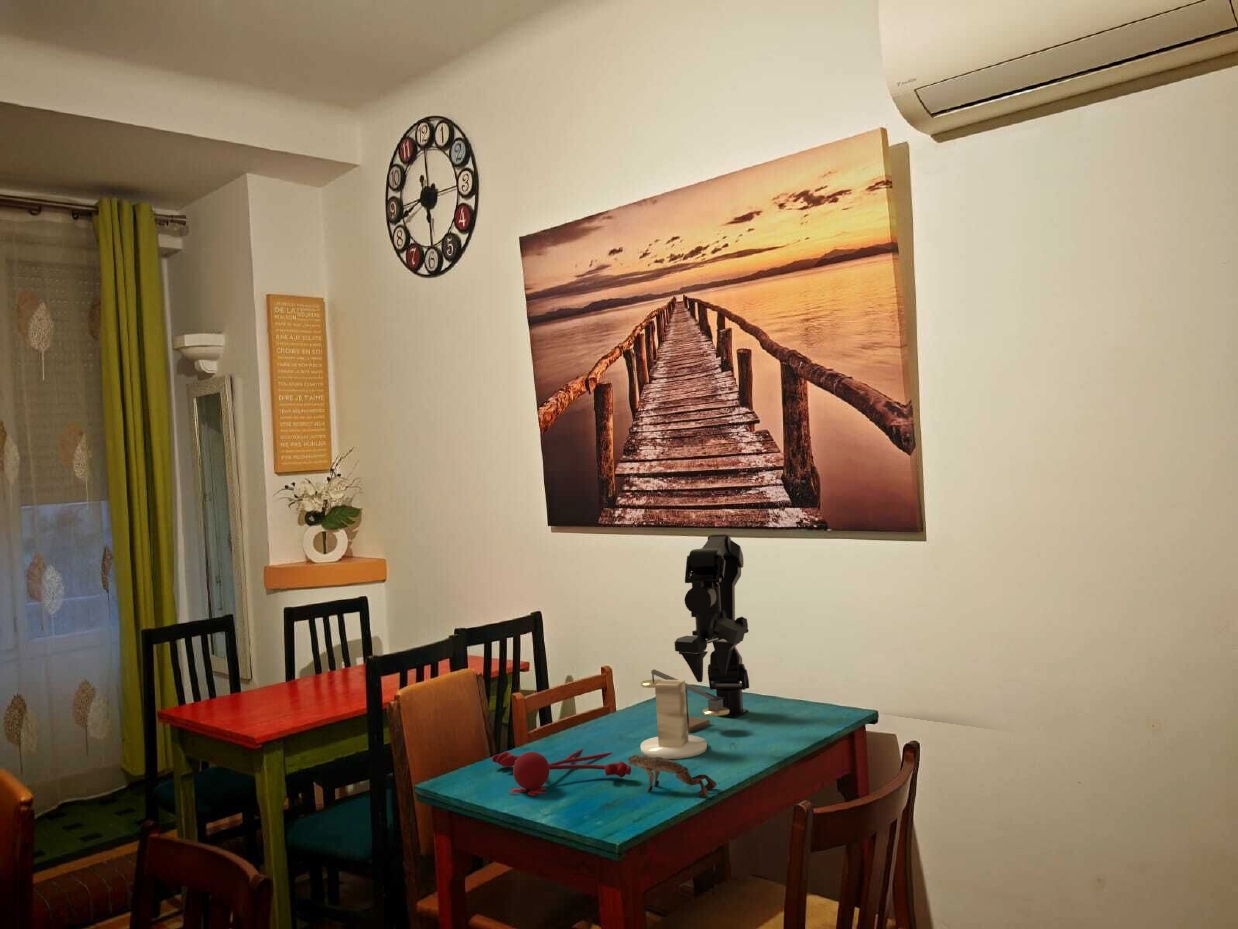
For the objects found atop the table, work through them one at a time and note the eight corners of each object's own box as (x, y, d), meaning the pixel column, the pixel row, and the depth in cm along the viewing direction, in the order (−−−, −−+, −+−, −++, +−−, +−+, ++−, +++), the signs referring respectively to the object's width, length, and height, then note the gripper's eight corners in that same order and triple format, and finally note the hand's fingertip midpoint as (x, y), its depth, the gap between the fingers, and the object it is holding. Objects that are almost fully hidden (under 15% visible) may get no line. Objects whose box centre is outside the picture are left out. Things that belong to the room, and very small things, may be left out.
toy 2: (692, 817, 193) (629, 760, 197) (719, 782, 190) (655, 725, 195) (681, 828, 187) (617, 769, 192) (709, 792, 185) (643, 733, 190)
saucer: (667, 737, 227) (667, 731, 227) (719, 745, 218) (719, 739, 218) (627, 753, 217) (627, 747, 217) (680, 762, 208) (680, 756, 208)
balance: (656, 716, 246) (652, 665, 246) (738, 728, 231) (734, 673, 231) (635, 724, 240) (632, 672, 240) (718, 737, 225) (714, 681, 225)
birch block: (666, 739, 221) (662, 679, 221) (688, 740, 219) (684, 680, 219) (658, 746, 216) (654, 684, 216) (681, 747, 214) (677, 685, 214)
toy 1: (536, 763, 226) (455, 787, 200) (537, 729, 227) (456, 747, 201) (667, 778, 212) (598, 805, 185) (668, 741, 213) (599, 762, 186)
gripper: (713, 615, 213) (718, 690, 213) (761, 602, 227) (766, 672, 227) (671, 612, 220) (675, 685, 220) (720, 600, 234) (724, 668, 234)
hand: (712, 677), depth 225 cm, fingers open, 9 cm apart
